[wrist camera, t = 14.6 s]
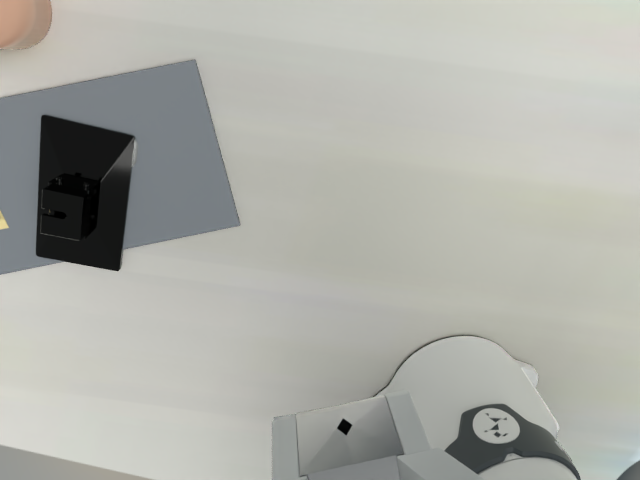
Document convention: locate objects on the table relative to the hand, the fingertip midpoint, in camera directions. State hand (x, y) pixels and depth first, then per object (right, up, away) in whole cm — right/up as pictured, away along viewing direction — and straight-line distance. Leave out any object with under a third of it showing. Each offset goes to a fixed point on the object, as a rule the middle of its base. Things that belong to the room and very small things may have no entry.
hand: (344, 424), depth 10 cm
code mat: (-23, +9, +28) cm, 37 cm away
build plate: (-20, +8, +28) cm, 36 cm away
